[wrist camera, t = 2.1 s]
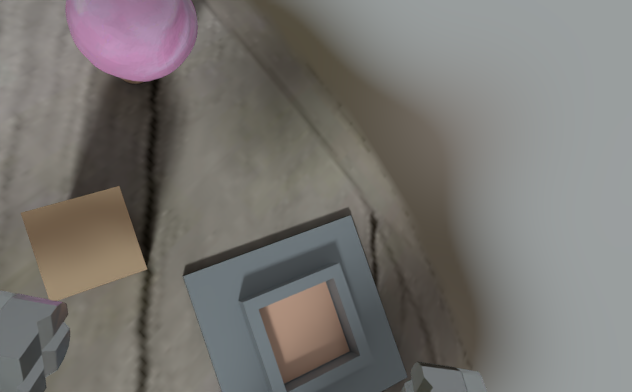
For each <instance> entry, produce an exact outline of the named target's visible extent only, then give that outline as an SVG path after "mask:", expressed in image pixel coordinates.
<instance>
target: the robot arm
mask: <svg viewBox="0 0 632 392" xmlns="http://www.w3.org/2000/svg"><path fill="white" fill-rule="evenodd" d="M67 315H68V309H67V304H66V303H63V302H59V301H53V300H48V299H43V298H38V297H33V296H28V295H23V294H17V293H11V292H6V291H0V392H44V391H45V389H46V388H47V387H46V380H45V377H47V376H48V375H50V374H52V373H53V372H55V371H57V370H58V368H59V366H60V365H61V363H62V361H63V359H64V357H65V355H66V352H67V349H68V346H69V341H70V328H69V327H68V326H67V325H66V324H65V323H64V320H65V319H66V317H67ZM410 372H411V378H412V379H411V380H410V381H408V382H406V383H404V386H403V388H402V390H401V392H487V390H486V387H485V384H484V381H483V378H482V376H481V374H480V373H479V372H478V371H471V370H465V369H459V368H455V367H449V366H442V365H436V364H430V363H423V362H416V363H415V364H414V365H413V367H412V369H411V371H410Z"/></svg>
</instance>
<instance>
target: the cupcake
mask: <svg viewBox="0 0 632 392" xmlns="http://www.w3.org/2000/svg"><path fill="white" fill-rule="evenodd" d="M66 18H67V22H68V26H69V29H70V32H71V36H72V38H73V40H74V42H75V44H76V46H77V47H78V49H79V50H80V51H81V52H82V54H83V55H84V56H86V57H87V58H88V59H89V60H90V62H91V63H92V64H93V65H95V66H96V67H97V68H99V69H100V70H102V71H103V72H106V73H108V74H111V75H114V76H116V77H119V78H121V79H122V80H124V81H126V82H128V83H131V84H140V83H143V82H146V81H151V80H155V79H159V78H162V77H164V76H166V75H168V74H170V73H171V72H173V71H174V70H176V69H177V68H178V67H179V66H180V65H181V64H182V63H183V62H184V60H185V59H186V58H187V57H188V55H189V54H190V52H191V50H192V48H193V46H194V44H195V41H196V38H197V29H198V25H197V15H196V10H195V7H194V5H193V3H192V1H191V0H66Z"/></svg>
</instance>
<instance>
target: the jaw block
mask: <svg viewBox="0 0 632 392" xmlns="http://www.w3.org/2000/svg"><path fill="white" fill-rule="evenodd" d="M21 215H22V218H23V221H24V224H25V227H26V230H27V233H28V236H29V239H30V242H31V245H32V249H33V252H34V255H35V258H36V261H37V264H38V267H39V270H40V273H41V276H42V279H43V282H44V285H45V288H46V291H47V294H48V297H49V300H53V301H57V300H60V299H63V298H66V297H69V296H72V295H75V294H78V293H81V292H84V291H87V290H89V289H92V288H95V287H98V286H101V285H104V284H107V283H110V282H112V281H115V280H118V279H121V278H124V277H127V276H130V275H133V274H135V273H138V272H141V271H144V270H147V267H146V264H145V261H144V258H143V255H142V252H141V249H140V246H139V243H138V240H137V237H136V234H135V231H134V228H133V225H132V222H131V219H130V216H129V213H128V210H127V207H126V204H125V201H124V198H123V195H122V193H121V190H120V187H119V186H117V187H114V188H110V189H106V190H103V191H99V192H95V193H92V194H88V195H84V196H81V197H77V198H73V199H70V200H66V201H63V202H59V203H55V204H52V205H48V206H44V207H41V208H37V209H33V210H30V211H26V212H22V213H21Z"/></svg>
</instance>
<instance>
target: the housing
mask: <svg viewBox="0 0 632 392" xmlns="http://www.w3.org/2000/svg"><path fill="white" fill-rule="evenodd" d="M183 278H184V281H185V284H186V287H187V290H188V293H189V296H190V299H191V302H192V305H193V308H194V311H195V314H196V317H197V320H198V323H199V326H200V329H201V332H202V335H203V338H204V341H205V344H206V347H207V350H208V353H209V355H210V358H211V361H212V364H213V367H214V370H215V373H216V376H217V379H218V382H219V385H220V388H221V391H222V392H382V391H383V390H385V389H387V388H389V387H391V386H393V385H394V384H396V383H398V382H400V381H402V380H403V379H405V378H407V374H406V371H405V368H404V366H403V363H402V360H401V357H400V354H399V351H398V348H397V346H396V343H395V340H394V337H393V334H392V331H391V328H390V326H389V323H388V320H387V317H386V314H385V311H384V309H383V306H382V303H381V300H380V297H379V294H378V291H377V289H376V286H375V283H374V280H373V277H372V274H371V271H370V269H369V266H368V263H367V260H366V257H365V254H364V251H363V249H362V246H361V243H360V240H359V237H358V234H357V232H356V229H355V226H354V223H353V220H352V217H351V215H350V216H346V217H344V218H341V219H338V220H335V221H333V222H330V223H327V224H324V225H322V226H319V227H316V228H313V229H311V230H308V231H305V232H303V233H300V234H297V235H294V236H292V237H289V238H286V239H283V240H281V241H278V242H275V243H272V244H270V245H267V246H264V247H261V248H259V249H256V250H253V251H250V252H248V253H245V254H242V255H239V256H237V257H234V258H231V259H228V260H226V261H223V262H220V263H218V264H215V265H212V266H209V267H207V268H204V269H201V270H198V271H196V272H193V273H190V274H187V275H185V276H183Z"/></svg>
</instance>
